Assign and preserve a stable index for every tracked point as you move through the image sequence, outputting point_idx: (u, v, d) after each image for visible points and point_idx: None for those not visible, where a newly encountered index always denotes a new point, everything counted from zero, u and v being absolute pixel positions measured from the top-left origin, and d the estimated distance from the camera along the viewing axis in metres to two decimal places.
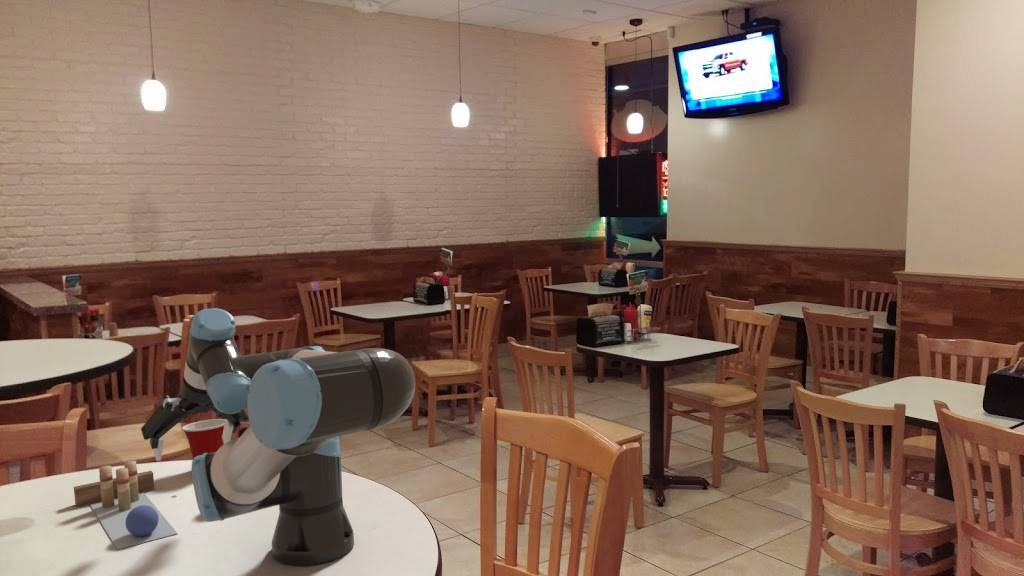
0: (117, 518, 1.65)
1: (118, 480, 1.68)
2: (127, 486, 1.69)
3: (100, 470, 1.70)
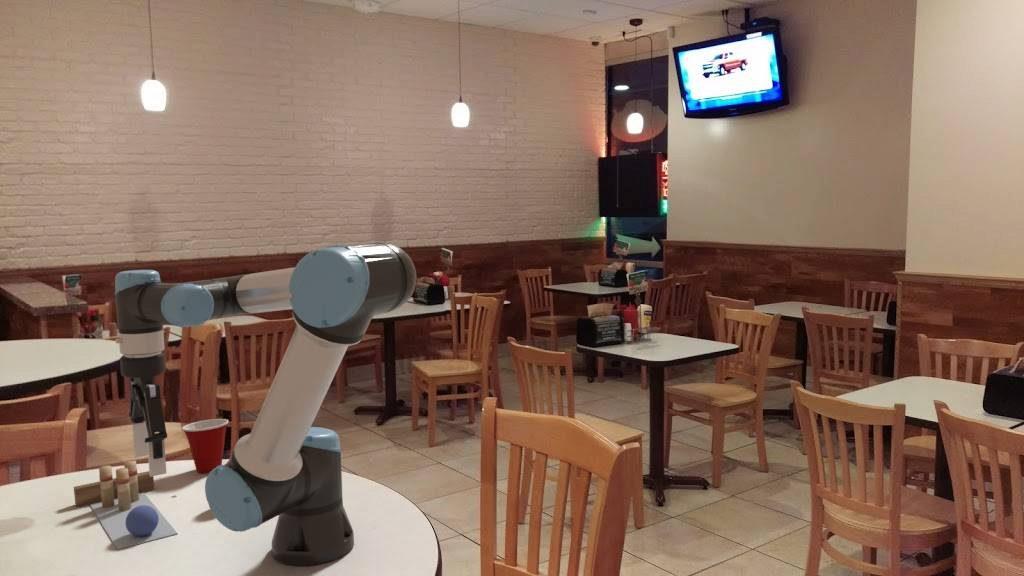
0: (117, 518, 1.65)
1: (118, 480, 1.68)
2: (127, 486, 1.69)
3: (100, 470, 1.70)
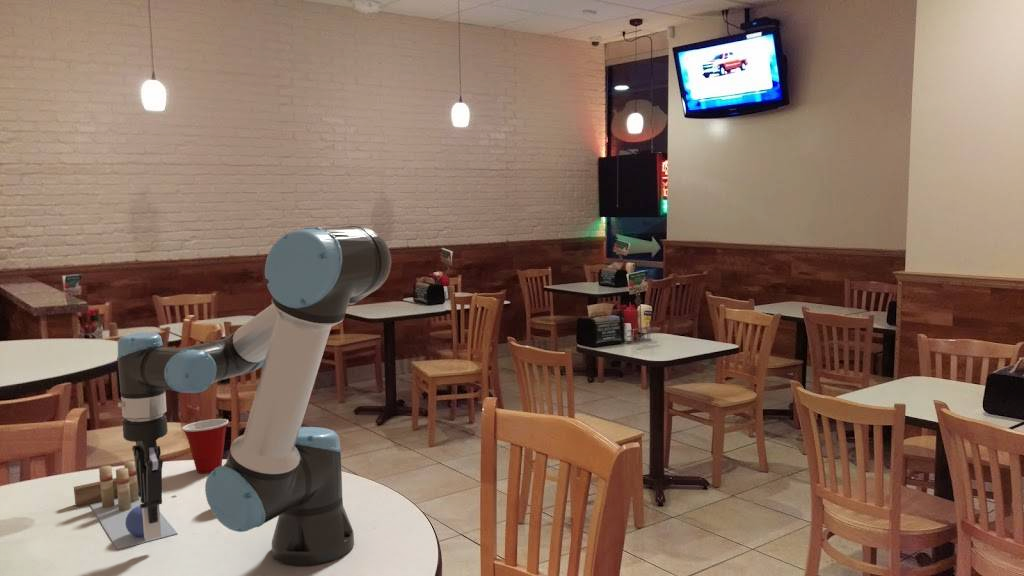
0: (117, 518, 1.65)
1: (118, 480, 1.68)
2: (127, 486, 1.69)
3: (100, 470, 1.70)
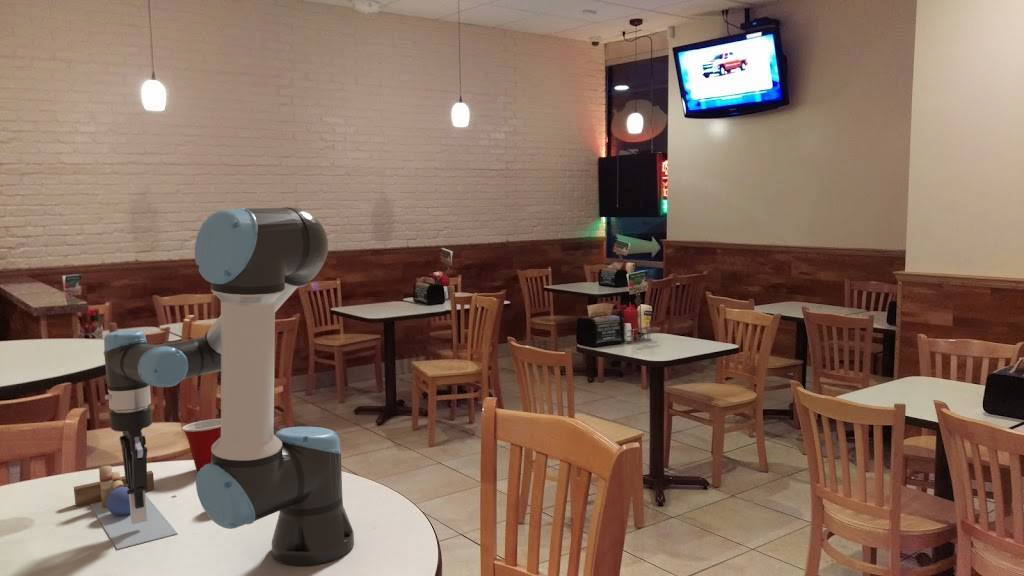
0: (117, 518, 1.65)
1: None
2: (120, 482, 1.74)
3: (100, 470, 1.70)
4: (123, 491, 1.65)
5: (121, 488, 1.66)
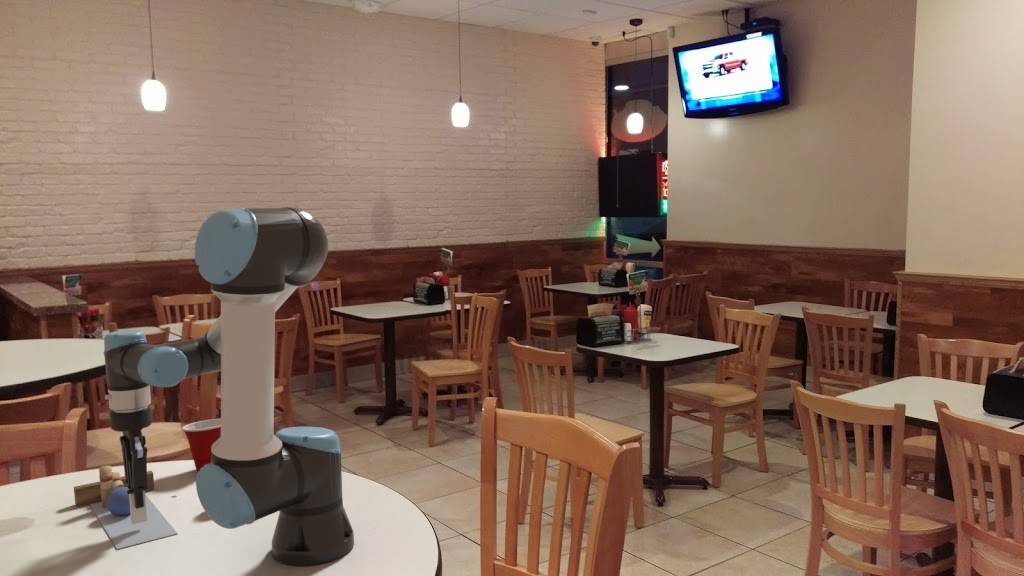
0: (117, 518, 1.65)
1: None
2: (120, 482, 1.74)
3: (100, 470, 1.70)
4: (123, 491, 1.65)
5: (121, 488, 1.66)
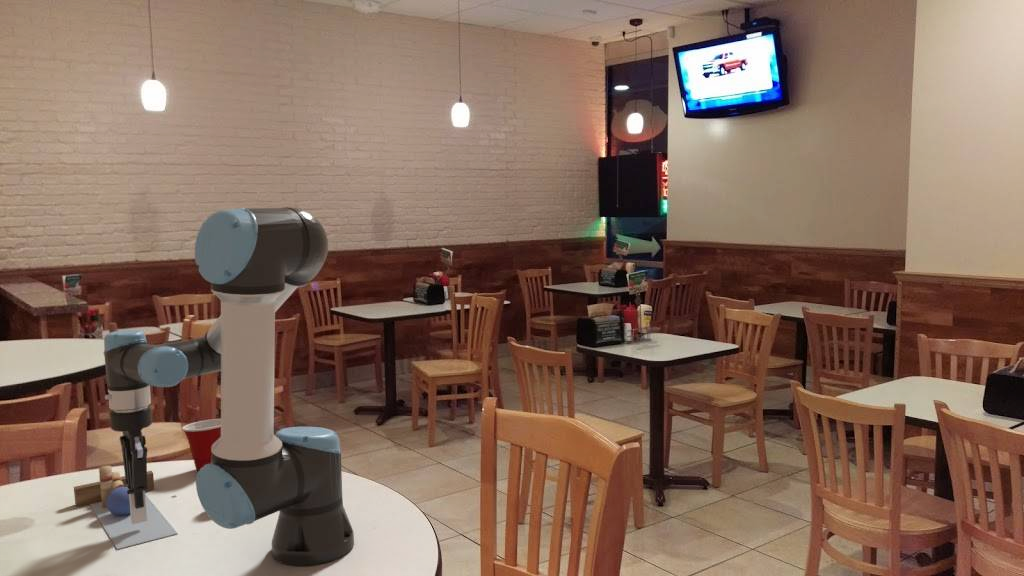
0: (117, 518, 1.65)
1: None
2: (120, 482, 1.74)
3: (100, 470, 1.70)
4: (123, 491, 1.65)
5: (121, 488, 1.66)
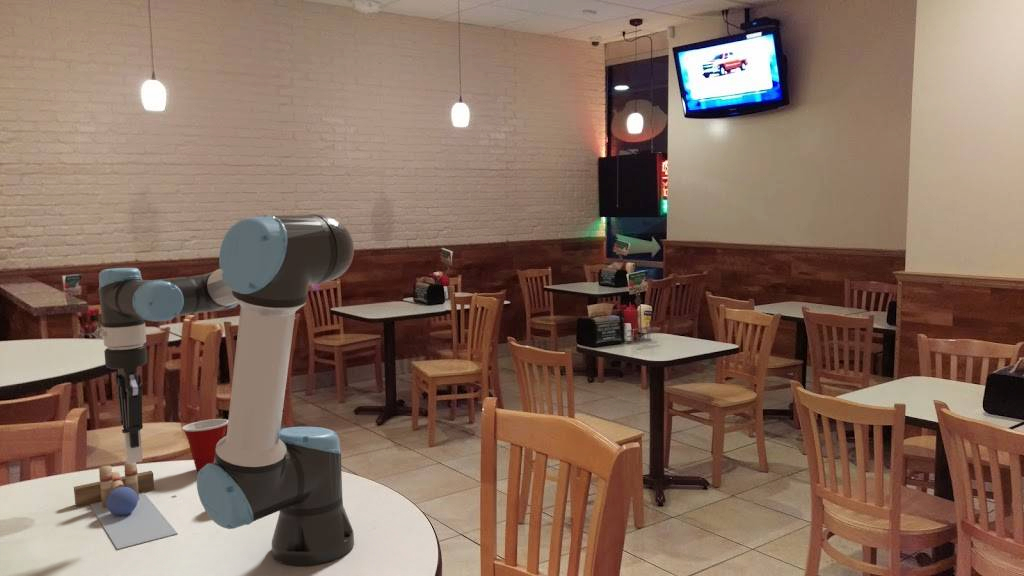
0: (117, 518, 1.65)
1: None
2: (120, 482, 1.74)
3: (100, 470, 1.70)
4: (123, 491, 1.65)
5: (121, 488, 1.66)
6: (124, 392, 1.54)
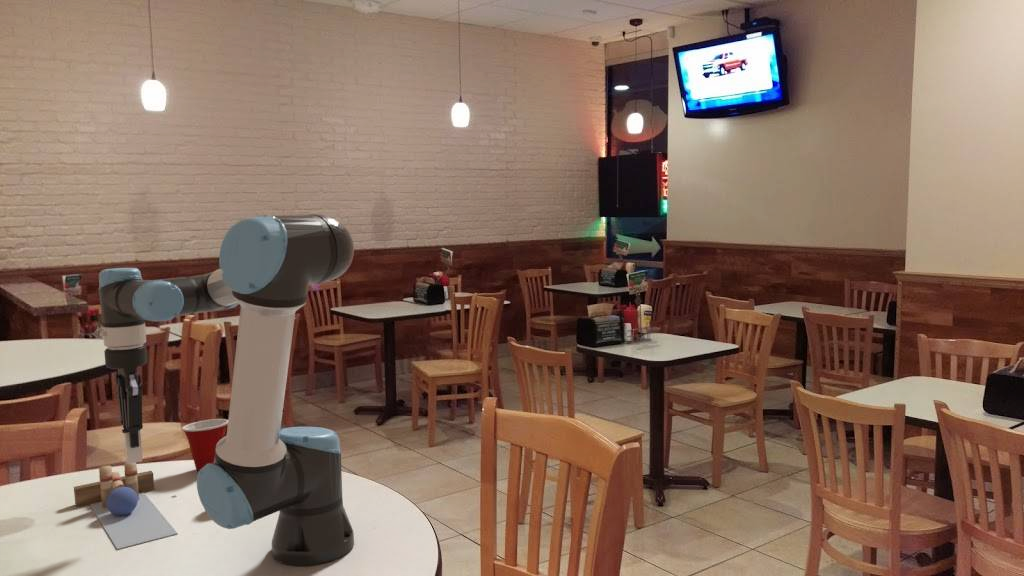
0: (117, 518, 1.65)
1: None
2: (120, 482, 1.74)
3: (100, 470, 1.70)
4: (123, 491, 1.65)
5: (121, 488, 1.66)
6: (124, 392, 1.54)
